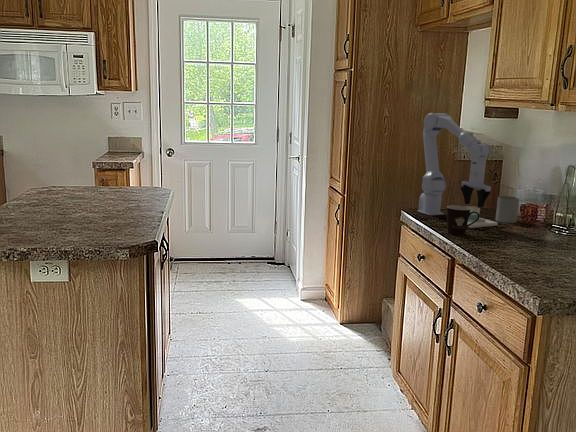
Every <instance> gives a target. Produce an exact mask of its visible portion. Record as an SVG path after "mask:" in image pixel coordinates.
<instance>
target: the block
mask: <svg viewBox="0 0 576 432" xmlns="http://www.w3.org/2000/svg"><path fill="white" fill-rule="evenodd" d="M466 207H469V208H470V212H473V211H475V212H477V213H479V216H480V215H481V214H480V213H481V208H478V206H474V205H470V206H469V205H468V206H466ZM477 218H478V215H477V214H476V213H472V214H471V215H470V216H469V218H468V219H470V220H476V219H477ZM478 220H479V219H478Z"/></svg>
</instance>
